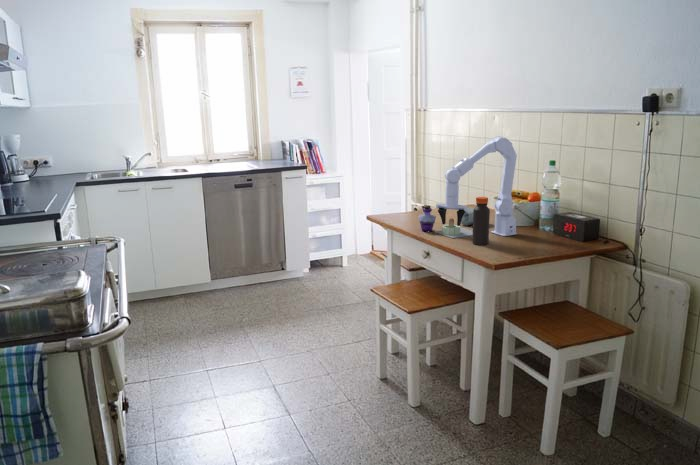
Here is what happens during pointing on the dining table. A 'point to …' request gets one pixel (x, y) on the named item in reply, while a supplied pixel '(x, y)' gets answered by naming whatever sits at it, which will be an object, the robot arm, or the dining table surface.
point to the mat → (463, 233)
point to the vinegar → (481, 222)
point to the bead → (450, 230)
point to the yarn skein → (468, 217)
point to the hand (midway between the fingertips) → (451, 224)
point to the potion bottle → (427, 219)
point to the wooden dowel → (451, 223)
